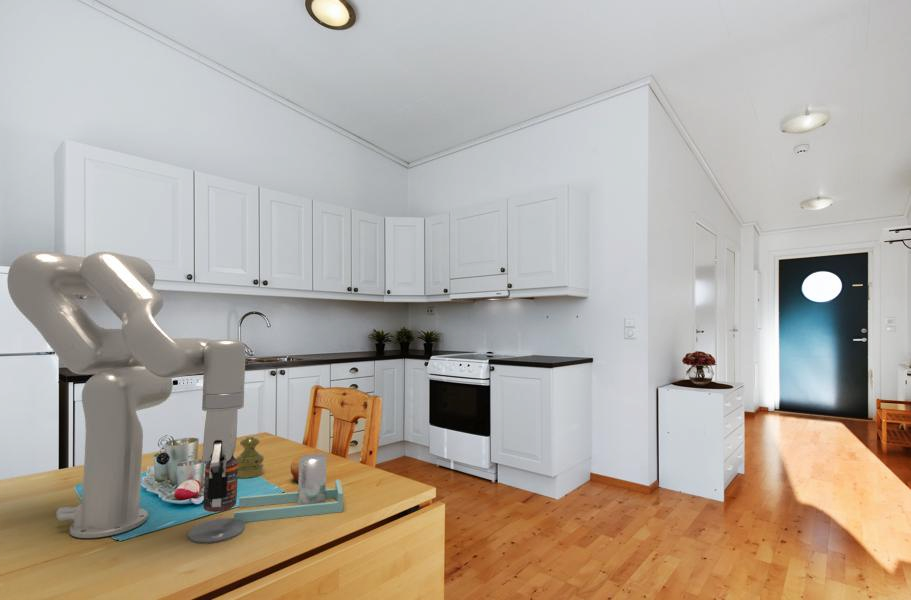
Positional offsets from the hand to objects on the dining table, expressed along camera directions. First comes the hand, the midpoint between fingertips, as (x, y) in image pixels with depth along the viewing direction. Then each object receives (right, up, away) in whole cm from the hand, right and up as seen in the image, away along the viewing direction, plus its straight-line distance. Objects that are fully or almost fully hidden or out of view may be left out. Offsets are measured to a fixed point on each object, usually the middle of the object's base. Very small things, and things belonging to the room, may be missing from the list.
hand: (220, 491), depth 92 cm
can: (+14, -9, +13) cm, 21 cm away
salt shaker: (-10, -10, +34) cm, 37 cm away
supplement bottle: (0, -3, 0) cm, 3 cm away
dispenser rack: (+9, -9, +11) cm, 17 cm away
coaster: (0, -8, 0) cm, 8 cm away
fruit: (+7, -10, +31) cm, 33 cm away
